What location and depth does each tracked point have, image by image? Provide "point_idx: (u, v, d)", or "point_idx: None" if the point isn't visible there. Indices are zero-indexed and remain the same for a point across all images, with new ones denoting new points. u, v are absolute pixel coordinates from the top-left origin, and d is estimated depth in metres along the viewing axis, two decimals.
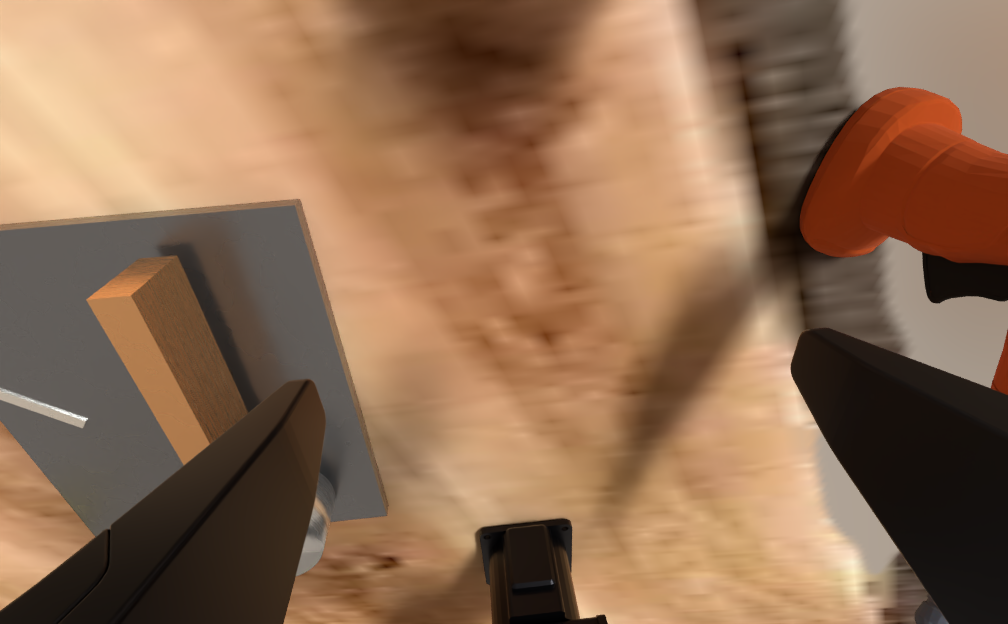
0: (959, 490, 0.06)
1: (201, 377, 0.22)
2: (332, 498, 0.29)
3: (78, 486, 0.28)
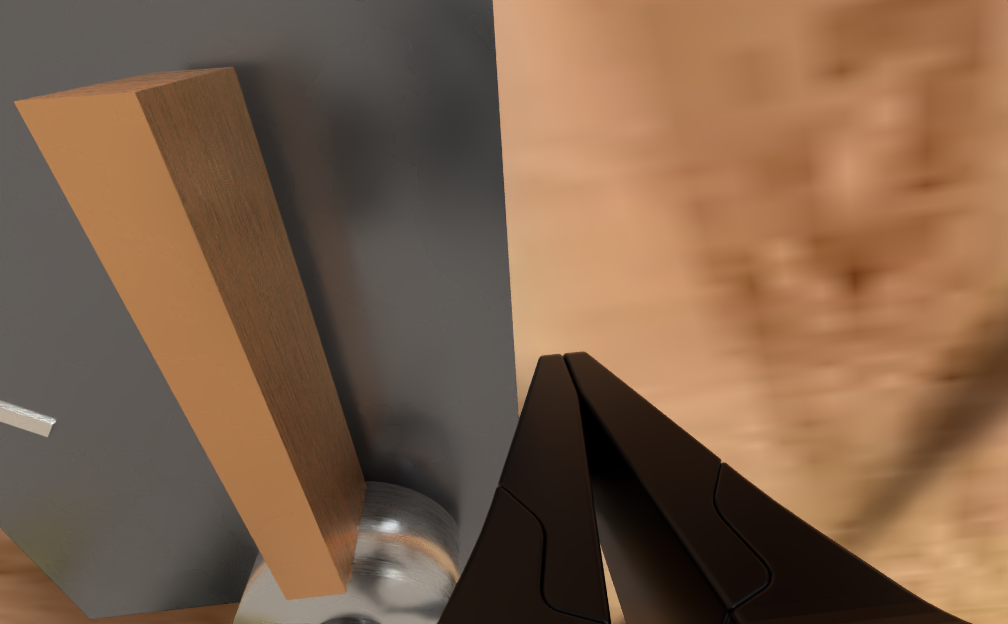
0: (626, 527, 0.06)
1: (279, 336, 0.11)
2: (459, 549, 0.18)
3: (45, 532, 0.17)
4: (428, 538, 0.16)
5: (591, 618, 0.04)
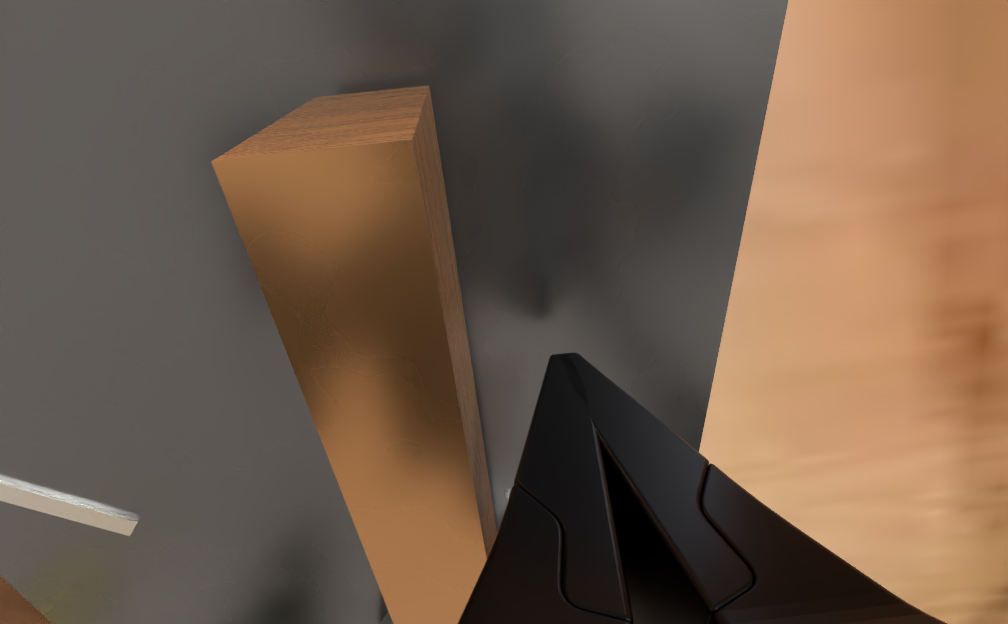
0: None
1: (476, 445, 0.08)
2: None
3: None
4: None
5: (613, 615, 0.04)
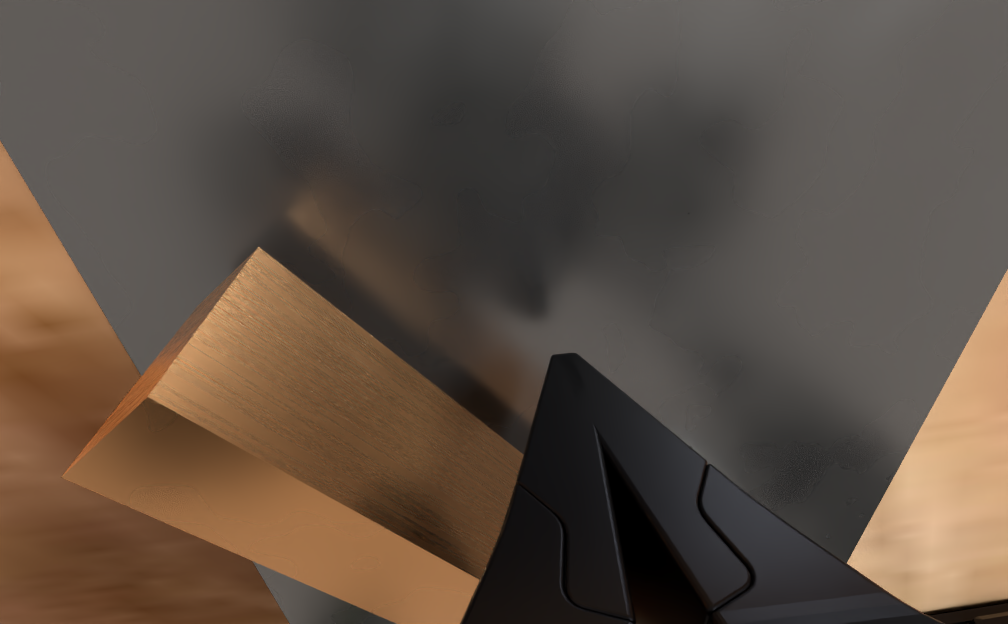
0: None
1: (476, 498, 0.08)
2: None
3: (323, 600, 0.14)
4: None
5: (616, 615, 0.04)
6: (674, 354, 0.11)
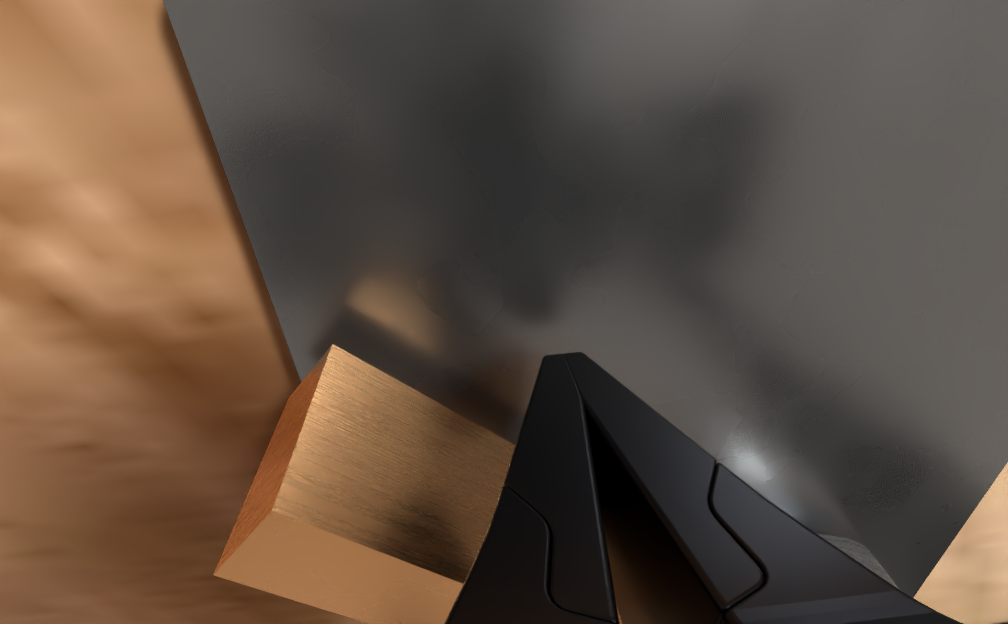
0: (622, 528, 0.06)
1: None
2: (879, 564, 0.14)
3: None
4: None
5: (599, 617, 0.04)
6: (799, 357, 0.11)
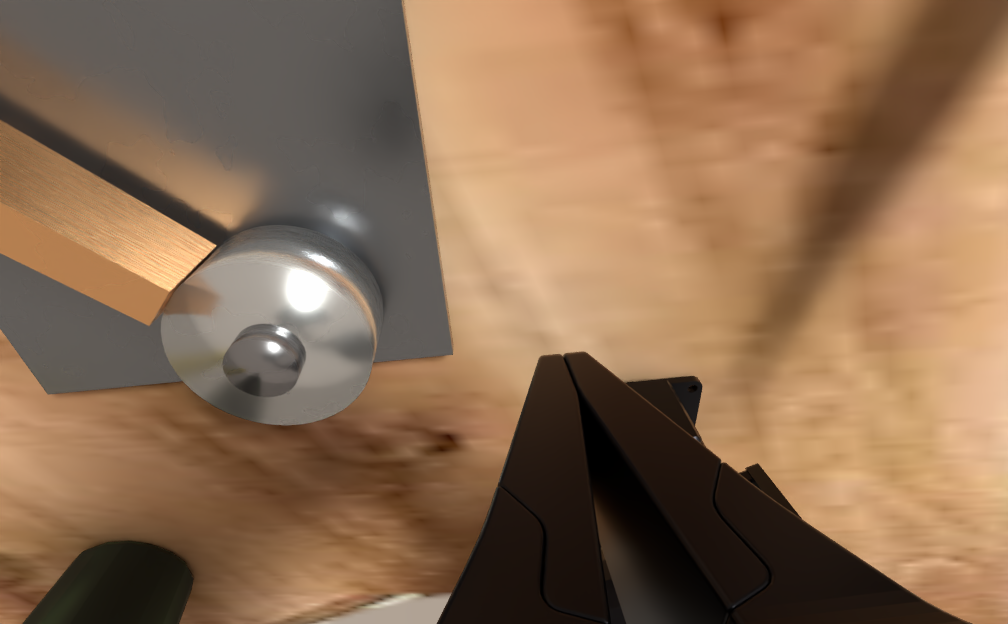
0: (626, 527, 0.06)
1: None
2: (342, 251, 0.18)
3: (1, 280, 0.19)
4: (263, 241, 0.17)
5: (591, 618, 0.04)
6: (172, 36, 0.15)
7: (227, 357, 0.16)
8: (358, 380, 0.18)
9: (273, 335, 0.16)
